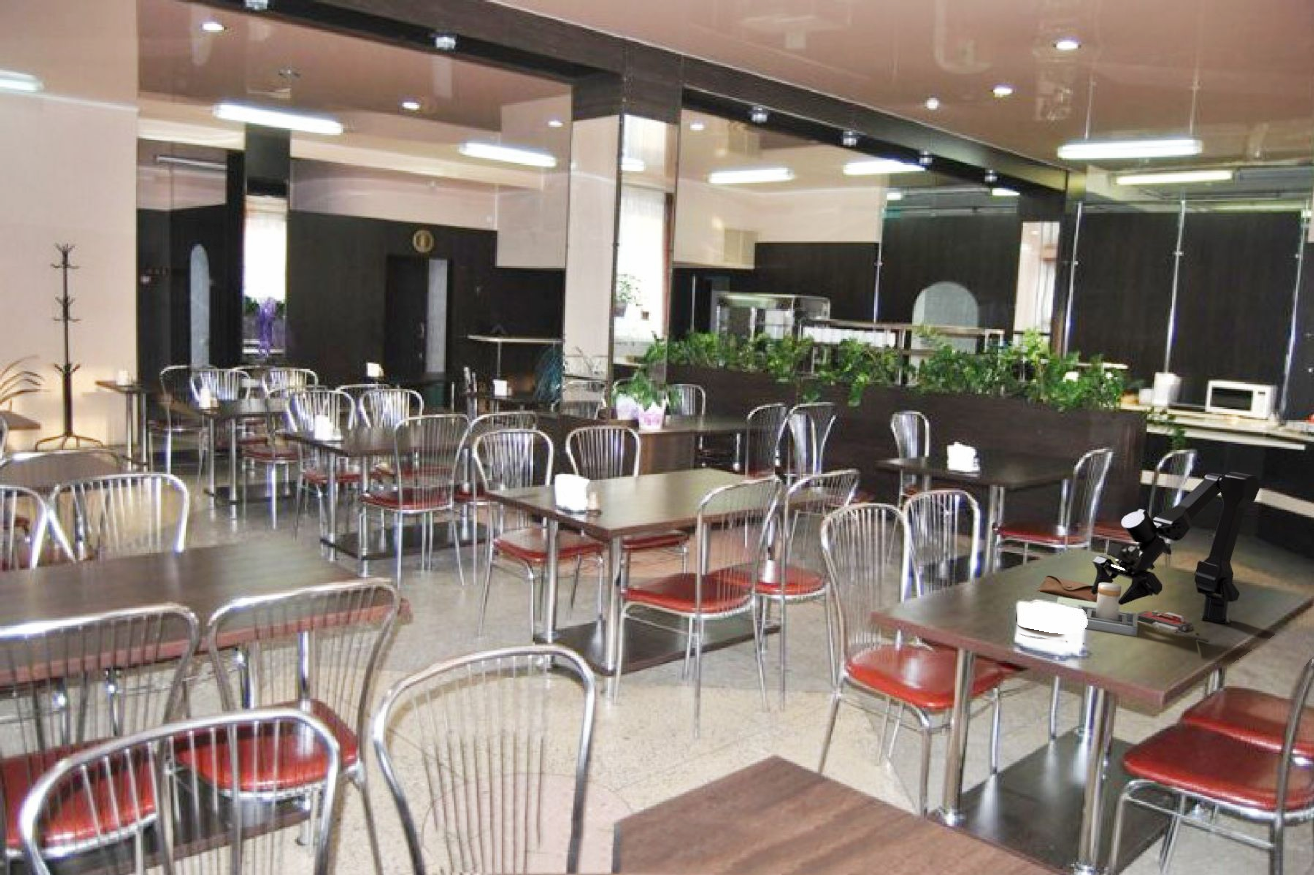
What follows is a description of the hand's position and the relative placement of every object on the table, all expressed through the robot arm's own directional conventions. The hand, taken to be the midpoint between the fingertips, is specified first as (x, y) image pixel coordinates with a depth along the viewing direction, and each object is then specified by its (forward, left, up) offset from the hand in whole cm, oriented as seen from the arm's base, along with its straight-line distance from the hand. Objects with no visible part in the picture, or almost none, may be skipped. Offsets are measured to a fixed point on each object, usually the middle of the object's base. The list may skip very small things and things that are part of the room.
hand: (1105, 598), depth 253 cm
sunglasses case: (-29, -9, -8) cm, 32 cm away
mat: (-16, -6, -8) cm, 18 cm away
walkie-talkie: (-7, +16, -8) cm, 20 cm away
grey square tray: (-1, +1, -8) cm, 8 cm away
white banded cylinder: (-1, +1, -7) cm, 7 cm away
